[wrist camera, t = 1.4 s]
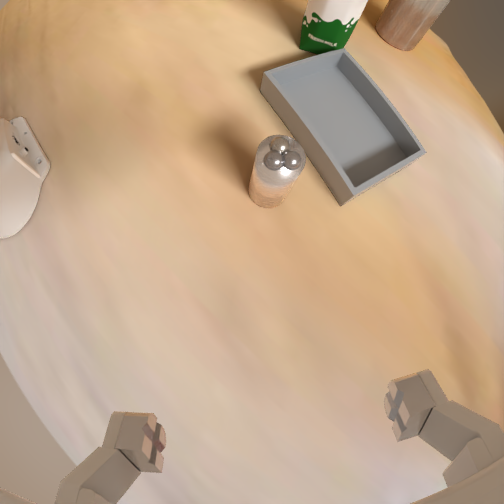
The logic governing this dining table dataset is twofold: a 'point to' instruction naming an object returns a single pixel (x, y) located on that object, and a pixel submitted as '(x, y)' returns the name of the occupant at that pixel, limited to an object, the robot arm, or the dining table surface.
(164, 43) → the dining table surface
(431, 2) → the planter
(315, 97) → the bin
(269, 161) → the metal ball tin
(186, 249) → the dining table surface
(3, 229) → the robot arm
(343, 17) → the milk carton
